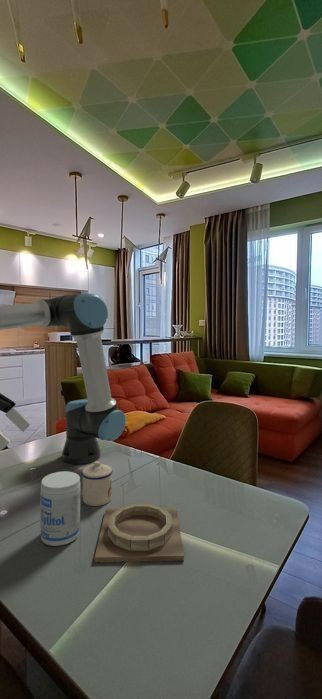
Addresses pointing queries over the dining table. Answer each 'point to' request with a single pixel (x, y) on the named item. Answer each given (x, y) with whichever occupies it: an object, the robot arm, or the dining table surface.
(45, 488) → the supplement tub
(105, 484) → the teacup with lid
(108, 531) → the ring holder
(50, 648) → the dining table surface
